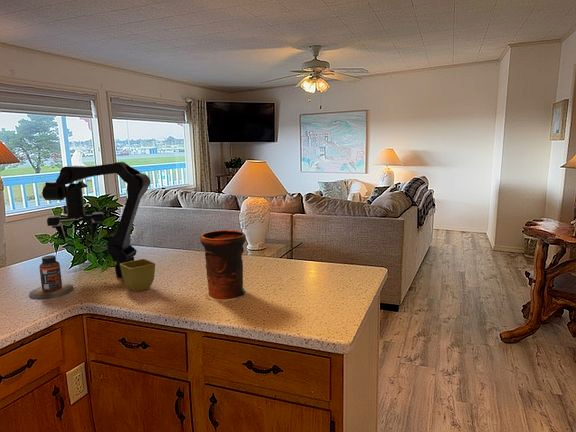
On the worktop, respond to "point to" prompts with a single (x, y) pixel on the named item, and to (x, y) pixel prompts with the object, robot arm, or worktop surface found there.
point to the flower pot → (138, 274)
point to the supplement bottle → (50, 274)
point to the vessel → (224, 264)
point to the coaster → (51, 292)
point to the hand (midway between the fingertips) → (79, 241)
